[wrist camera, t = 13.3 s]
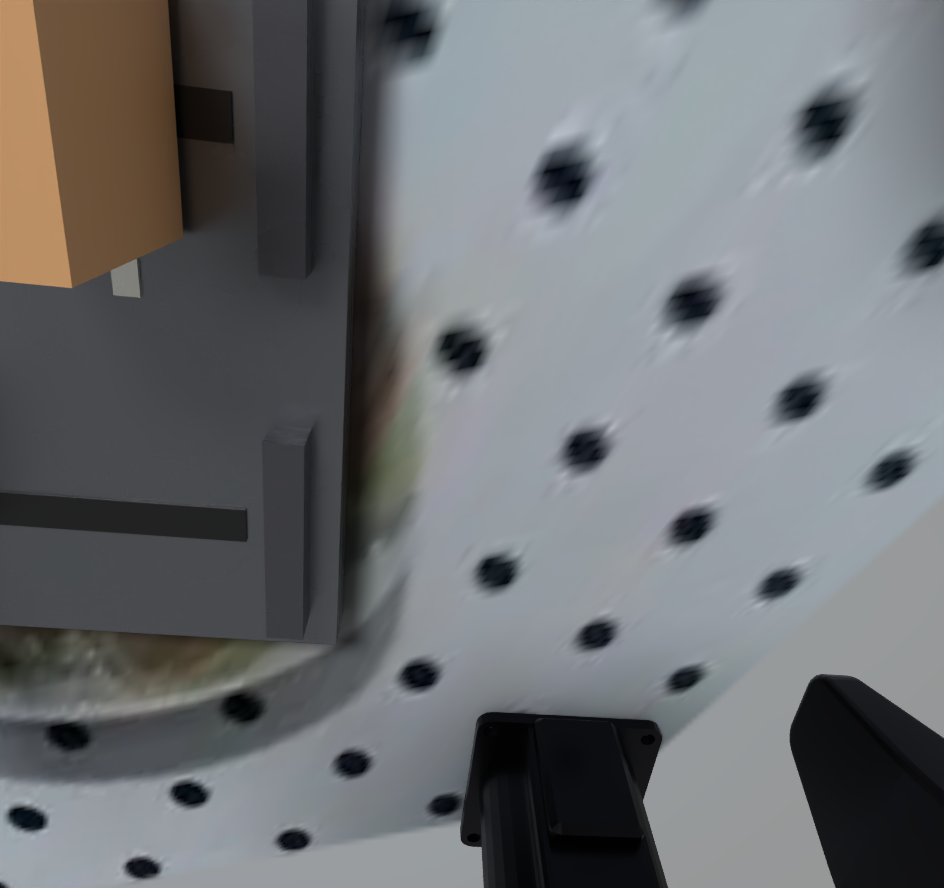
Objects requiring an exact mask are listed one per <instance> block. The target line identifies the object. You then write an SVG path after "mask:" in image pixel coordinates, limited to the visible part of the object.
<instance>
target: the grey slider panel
mask: <svg viewBox="0 0 944 888" xmlns="http://www.w3.org/2000/svg"><path fill="white" fill-rule="evenodd" d="M365 2H366V0H168V10H169V25H170V40H171V56H172V71H173V86H174V101H175V116H176V131H177V146H178V161H179V176H180V191H181V206H182V221H183V236H184V237H183V238H181V239H179V240H177V241H175V242H172V243H170V244H168V245H166V246H164V247H161V248H159V249H157V250H155V251H153V252H150V253H148V254H146V255H144V256H142V257H139V258H137V259H135V260H133V261H131V262H129V263H126V264H124V265H122V266H120V267H118V268H115V269H113V270H111V271H109V272H107V273H104V274H102V275H100V276H98V277H96V278H93V279H91V280H89V281H87V282H85V283H82V284H80V285H78V286H76V287H74V288H66V287H55V286H45V285H35V284H24V283H14V282H4V281H0V625H11V626H28V627H45V628H62V629H79V630H96V631H113V632H130V633H147V634H164V635H181V636H198V637H215V638H231V639H248V640H265V641H282V642H299V643H316V644H333V645H336V643H337V638H338V633H339V628H340V623H341V619H342V614H343V594H344V567H345V540H346V513H347V486H348V459H349V433H350V406H351V379H352V352H353V325H354V298H355V271H356V244H357V217H358V190H359V163H360V136H361V109H362V83H363V56H364V29H365Z"/></svg>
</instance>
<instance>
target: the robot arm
mask: <svg viewBox="0 0 944 888" xmlns="http://www.w3.org/2000/svg"><path fill="white" fill-rule="evenodd" d="M488 727H494V728H488ZM645 735H646V736H645ZM661 741H662V735H661V732H660V730H659V727H658V725H657V724H656V723H655V722H653V721H649V720H632V719H613V718H594V717H575V716H556V715H536V714H517V713H498V712H489V713H485V714H483V715H481V716H480V717H479V718H478V720H477V722H476V729H475V735H474V742H473V748H472V755H471V761H470V768H469V774H468V781H467V787H466V794H465V800H464V807H463V813H462V820H461V827H460V834H461V841H462V842H463V843H464V844H465V845H468V846H473V847H482V861H483V881H484V888H668V886H667V883H666V879H665V876H664V872H663V869H662V866H661V862H660V859H659V855H658V852H657V848H656V845H655V841H654V838H653V835H652V831H651V828H650V824H649V821H648V817H647V814H646V811H645V807H644V804H643V798H644V795H645V792H646V789H647V786H648V783H649V780H650V776H651V773H652V770H653V767H654V764H655V761H656V757H657V754H658V751H659V748H660V745H661ZM790 746H791V750H792V754H793V757H794V760H795V763H796V767H797V770H798V773H799V776H800V779H801V782H802V785H803V789H804V792H805V795H806V798H807V801H808V804H809V807H810V810H811V813H812V817H813V820H814V823H815V826H816V829H817V832H818V836H819V839H820V842H821V845H822V848H823V851H824V855H825V858H826V860H827V864H828V867H829V870H830V873H831V876H832V879H833V881H834V884H835V887H836V888H944V738H943V737H941V736H940V735H939V734H937V733H936V732H934V731H933V730H931V729H930V728H928V727H927V726H925V725H924V724H923V723H921V722H920V721H918V720H917V719H915V718H914V717H912V716H911V715H910V714H908V713H907V712H905V711H904V710H902V709H901V708H899V707H898V706H897V705H895V704H894V703H892V702H891V701H889V700H888V699H886V698H885V697H883V696H882V695H881V694H879V693H877V692H876V691H875V690H873V689H872V688H870V687H869V686H867V685H866V684H865V683H863V682H862V681H860V680H859V679H857V678H854V677H851V676H845V675H827V674H820V675H816V676H815V677H814V678H813V679H811V680H810V682H809V684H808V686H807V689H806V691H805V693H804V696H803V698H802V701H801V703H800V705H799V708H798V710H797V713H796V715H795V717H794V720H793V722H792V725H791V729H790Z"/></svg>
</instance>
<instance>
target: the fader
mask: <svg viewBox="0 0 944 888" xmlns="http://www.w3.org/2000/svg"><path fill="white" fill-rule="evenodd" d="M183 237H184V236H183V221H182V206H181V191H180V176H179V161H178V146H177V131H176V116H175V101H174V86H173V71H172V56H171V40H170V25H169V10H168V0H0V281H4V282H14V283H24V284H35V285H45V286H55V287H66V288H74V287H76V286H78V285H80V284H82V283H85V282H87V281H89V280H91V279H93V278H96V277H98V276H100V275H102V274H104V273H107V272H109V271H111V270H113V269H115V268H118V267H120V266H122V265H124V264H126V263H129V262H131V261H133V260H135V259H137V258H139V257H142V256H144V255H146V254H148V253H150V252H153V251H155V250H157V249H159V248H161V247H164V246H166V245H168V244H170V243H172V242H175V241H177V240H179V239H181V238H183Z"/></svg>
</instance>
